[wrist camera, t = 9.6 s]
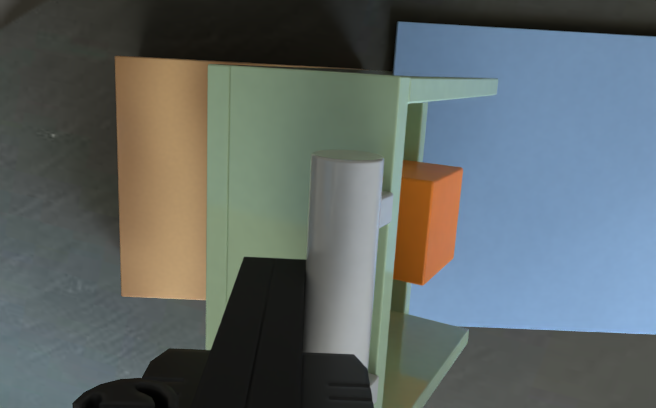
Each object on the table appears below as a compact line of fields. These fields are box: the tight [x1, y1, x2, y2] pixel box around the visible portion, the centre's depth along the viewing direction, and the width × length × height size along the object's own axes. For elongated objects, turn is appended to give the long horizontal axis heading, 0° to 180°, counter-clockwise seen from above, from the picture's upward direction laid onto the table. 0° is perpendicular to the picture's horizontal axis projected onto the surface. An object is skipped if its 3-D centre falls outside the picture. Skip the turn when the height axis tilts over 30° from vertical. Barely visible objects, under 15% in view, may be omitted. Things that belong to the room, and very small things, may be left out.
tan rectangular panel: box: [115, 56, 367, 300], centre depth 29 cm, size 11×11×4 cm
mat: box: [393, 21, 656, 334], centre depth 32 cm, size 27×16×1 cm, turn 87°
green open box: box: [206, 64, 498, 408], centre depth 20 cm, size 14×11×6 cm
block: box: [393, 160, 463, 285], centre depth 24 cm, size 4×4×4 cm
